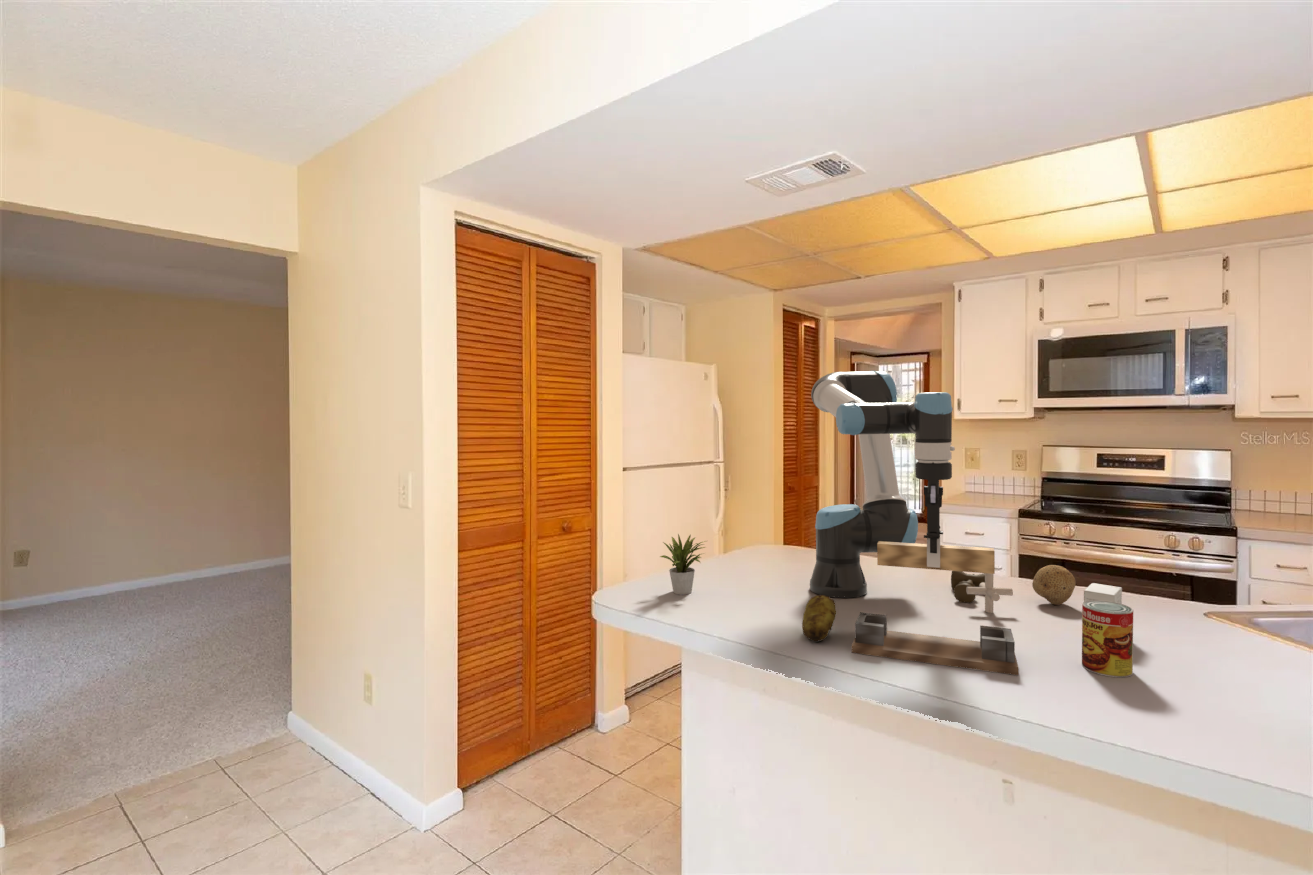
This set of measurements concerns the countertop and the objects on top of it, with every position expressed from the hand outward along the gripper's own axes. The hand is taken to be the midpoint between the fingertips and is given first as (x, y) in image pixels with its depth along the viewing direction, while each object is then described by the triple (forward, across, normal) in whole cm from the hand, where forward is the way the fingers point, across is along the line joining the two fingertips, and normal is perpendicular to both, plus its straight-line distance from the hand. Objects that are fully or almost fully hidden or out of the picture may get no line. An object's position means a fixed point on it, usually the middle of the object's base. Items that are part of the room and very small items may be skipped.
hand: (933, 564), depth 144 cm
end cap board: (+15, -16, 0) cm, 21 cm away
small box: (+15, +8, -33) cm, 37 cm away
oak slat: (+1, 0, 0) cm, 1 cm away
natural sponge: (+15, +30, -27) cm, 43 cm away
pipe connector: (+15, +18, -12) cm, 26 cm away
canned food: (+15, -12, -30) cm, 36 cm away
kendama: (+15, +33, -8) cm, 37 cm away
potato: (+15, -13, +23) cm, 31 cm away
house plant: (+15, +6, +64) cm, 66 cm away
